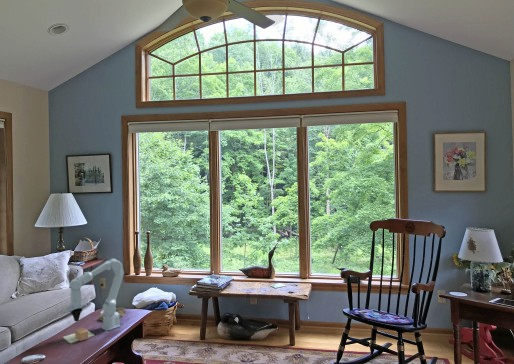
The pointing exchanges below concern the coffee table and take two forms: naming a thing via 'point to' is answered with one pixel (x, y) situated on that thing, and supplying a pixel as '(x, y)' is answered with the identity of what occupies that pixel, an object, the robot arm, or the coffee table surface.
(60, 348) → the coffee table surface
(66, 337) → the grey mat
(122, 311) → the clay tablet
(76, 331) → the terracotta block
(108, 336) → the coffee table surface
